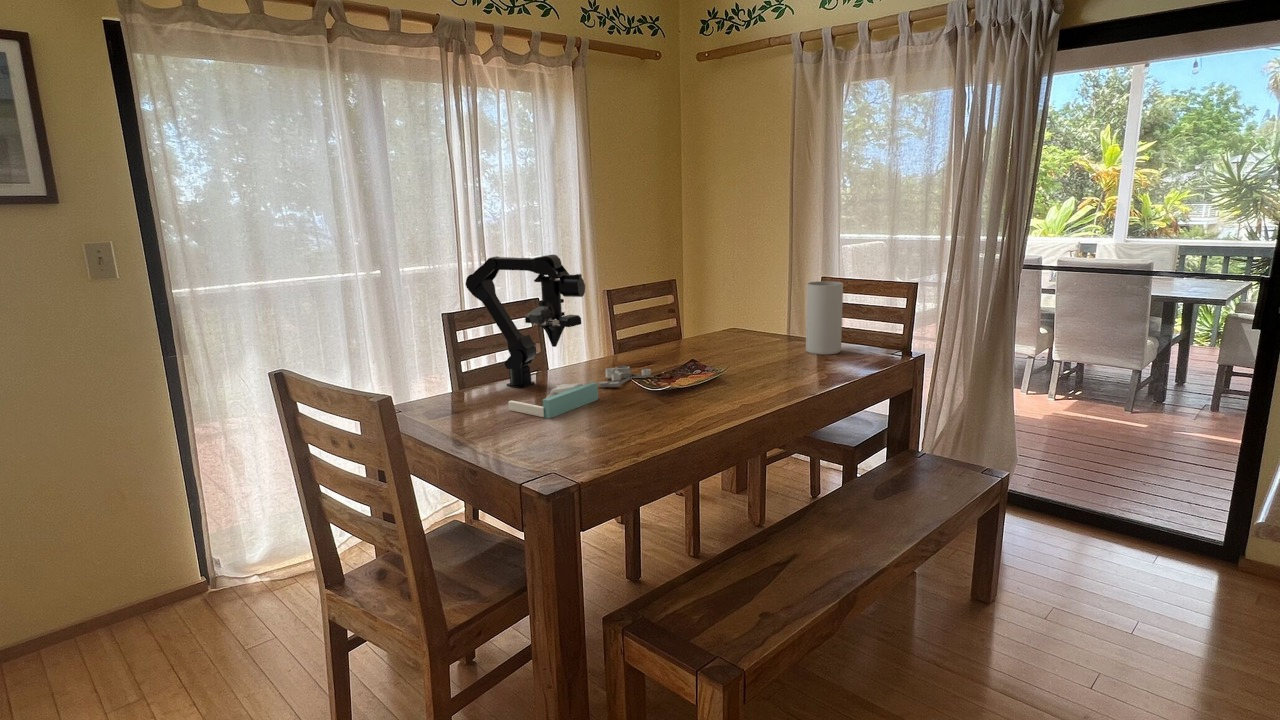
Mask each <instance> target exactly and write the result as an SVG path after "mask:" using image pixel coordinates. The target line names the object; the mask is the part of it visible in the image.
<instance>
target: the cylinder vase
mask: <svg viewBox="0 0 1280 720" xmlns="http://www.w3.org/2000/svg"><path fill="white" fill-rule="evenodd" d="M843 295H844V283H843V282H841V281H829V280H821V281H810V282H807V283H806V318H805V319H806V323H805V324H806V325H805V327H806V328H805V331H806V332H805V338H806V339H805V350H806V352H807V353H809V354H813V355H823V356H824V355H836V354H839V353H840V352H841V351H842V333H843V329H842V328H843V301H844V300H843V299H844V298H843V297H844V296H843Z"/></svg>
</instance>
